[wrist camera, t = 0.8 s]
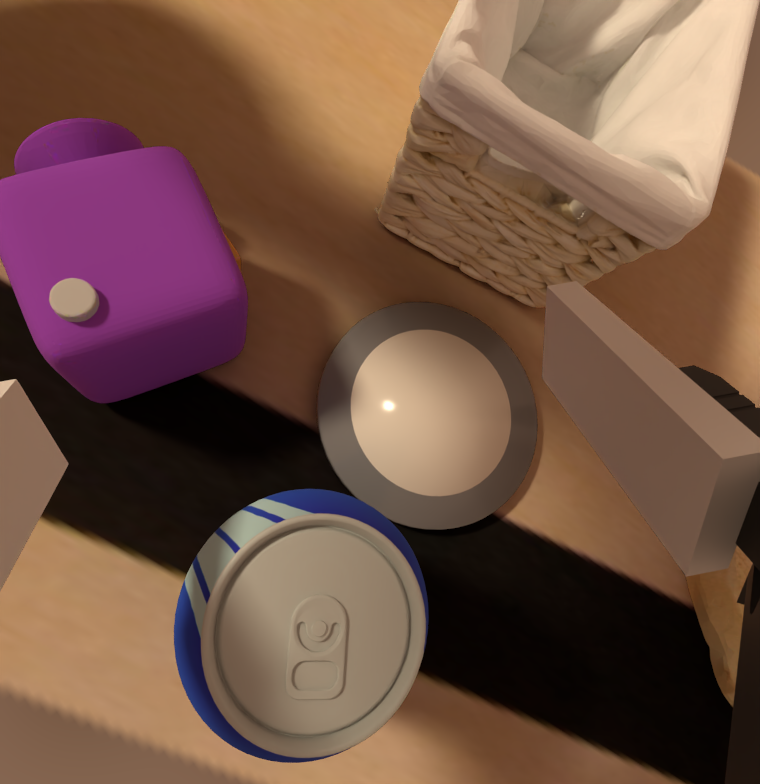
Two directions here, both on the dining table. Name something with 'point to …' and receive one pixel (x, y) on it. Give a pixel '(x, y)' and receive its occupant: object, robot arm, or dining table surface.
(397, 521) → the coaster plate
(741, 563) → the ashtray
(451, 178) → the storage basket
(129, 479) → the dining table surface
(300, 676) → the beer can
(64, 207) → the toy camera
